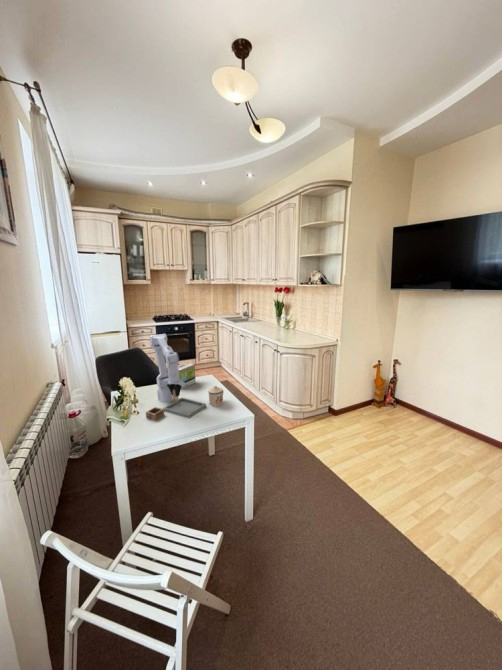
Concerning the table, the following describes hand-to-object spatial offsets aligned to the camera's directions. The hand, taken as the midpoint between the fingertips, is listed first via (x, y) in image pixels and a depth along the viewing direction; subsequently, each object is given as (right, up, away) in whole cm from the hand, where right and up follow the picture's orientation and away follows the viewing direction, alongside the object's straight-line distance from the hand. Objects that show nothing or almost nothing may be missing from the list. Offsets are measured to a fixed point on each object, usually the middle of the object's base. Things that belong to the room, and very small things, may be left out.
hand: (175, 395), depth 160 cm
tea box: (-5, -2, +42) cm, 43 cm away
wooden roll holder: (-11, -12, -4) cm, 16 cm away
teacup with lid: (+24, -8, +12) cm, 28 cm away
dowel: (0, -4, +1) cm, 4 cm away
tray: (+4, -10, +5) cm, 11 cm away
